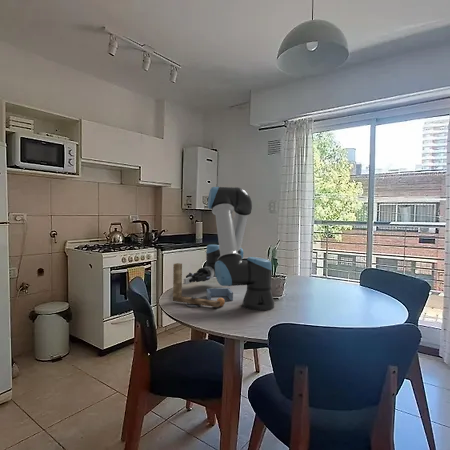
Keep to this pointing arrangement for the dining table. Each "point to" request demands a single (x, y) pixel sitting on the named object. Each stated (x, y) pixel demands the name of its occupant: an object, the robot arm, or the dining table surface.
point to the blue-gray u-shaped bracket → (219, 292)
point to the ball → (221, 301)
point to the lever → (178, 290)
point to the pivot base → (192, 305)
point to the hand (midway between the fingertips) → (184, 281)
